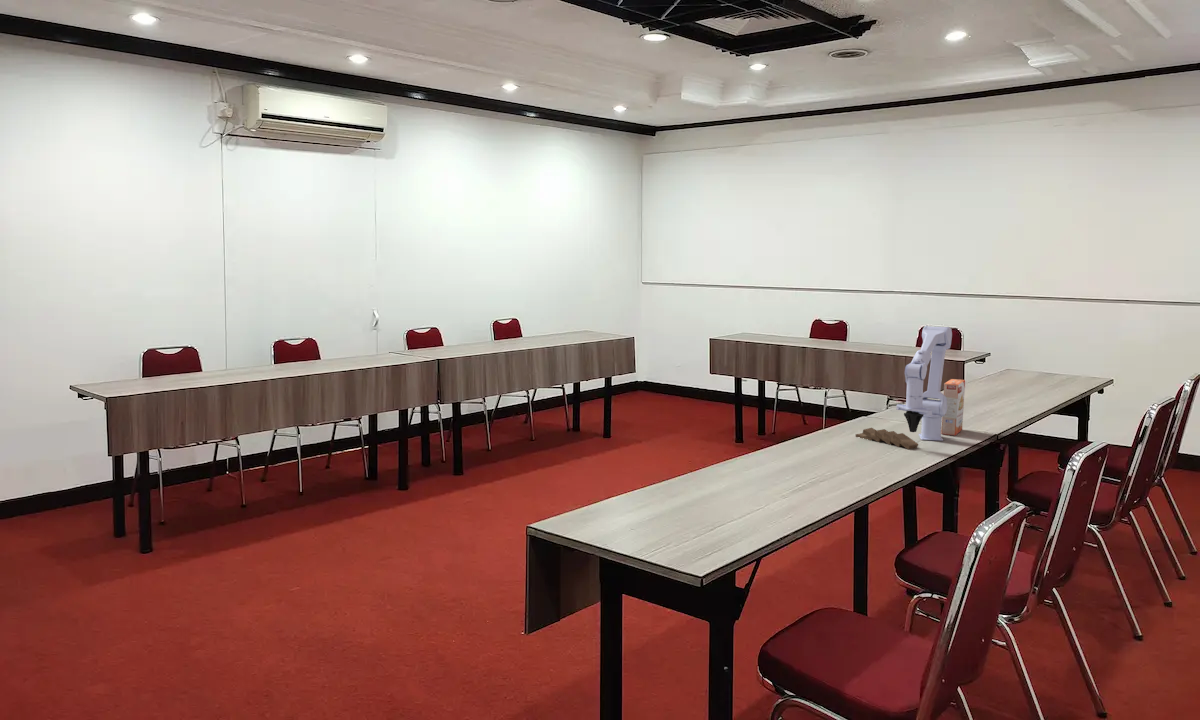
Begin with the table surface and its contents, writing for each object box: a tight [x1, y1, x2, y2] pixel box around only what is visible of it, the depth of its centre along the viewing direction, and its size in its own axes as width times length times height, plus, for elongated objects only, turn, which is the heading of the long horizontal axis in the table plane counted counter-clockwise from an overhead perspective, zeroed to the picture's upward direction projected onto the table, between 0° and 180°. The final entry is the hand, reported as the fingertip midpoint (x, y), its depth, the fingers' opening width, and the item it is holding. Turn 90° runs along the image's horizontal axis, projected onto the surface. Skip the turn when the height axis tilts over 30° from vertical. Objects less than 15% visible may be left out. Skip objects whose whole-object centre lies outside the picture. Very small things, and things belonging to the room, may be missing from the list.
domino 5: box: [893, 432, 919, 450], centre depth 320 cm, size 2×5×8 cm
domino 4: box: [883, 430, 903, 448], centre depth 324 cm, size 2×5×8 cm
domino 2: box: [862, 427, 884, 443], centre depth 332 cm, size 2×5×8 cm
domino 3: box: [875, 428, 894, 445], centre depth 328 cm, size 2×5×8 cm
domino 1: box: [855, 432, 875, 441], centre depth 335 cm, size 2×5×8 cm
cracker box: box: [941, 378, 966, 436], centre depth 343 cm, size 14×6×21 cm, turn 147°
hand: (913, 431), depth 316 cm, fingers closed
